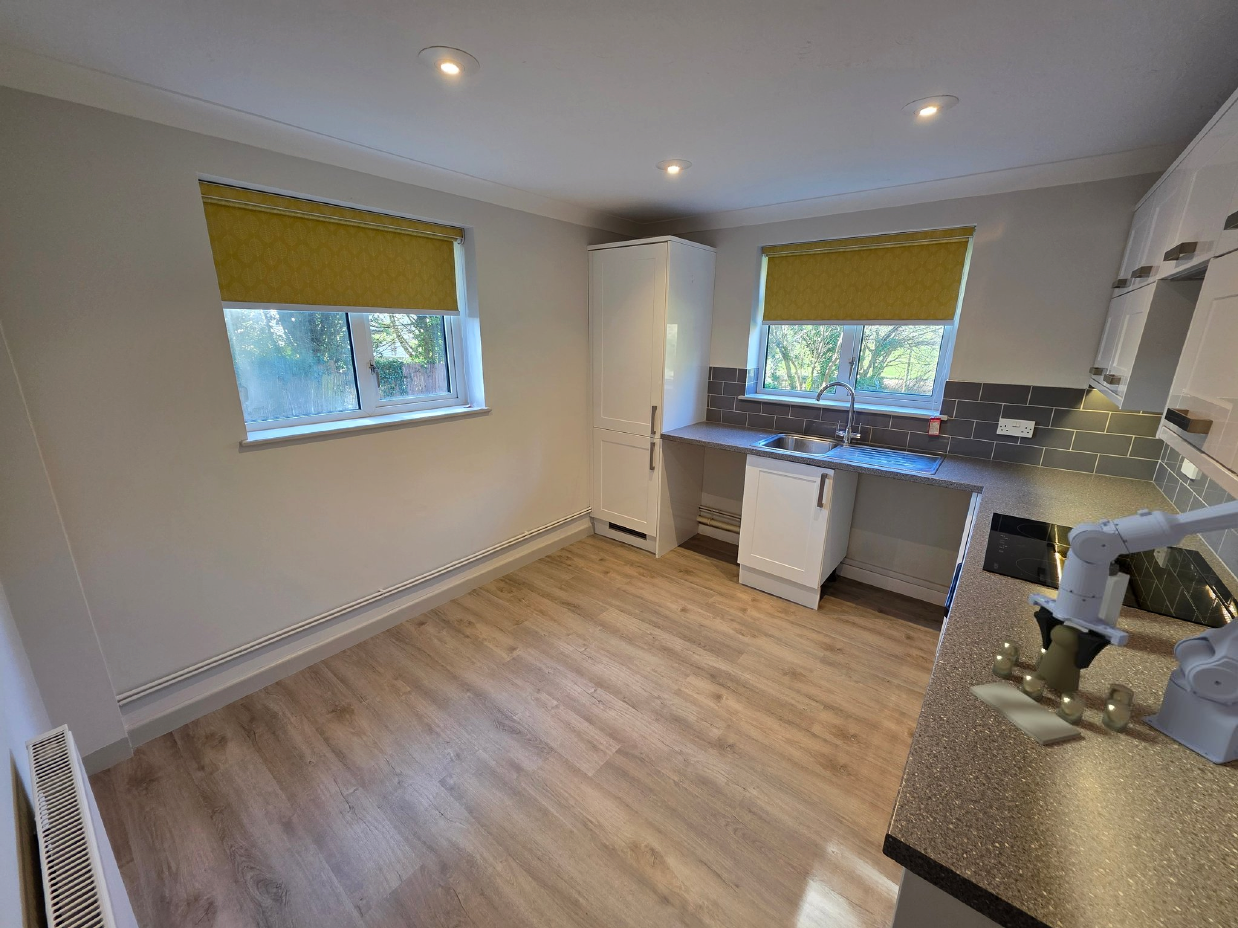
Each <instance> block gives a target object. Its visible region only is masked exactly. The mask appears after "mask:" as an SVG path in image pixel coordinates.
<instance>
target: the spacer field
mask: <svg viewBox="0 0 1238 928" xmlns="http://www.w3.org/2000/svg"><path fill="white" fill-rule="evenodd" d="M1038 647H1039V648H1038V652H1037V656H1036V660H1035V665H1036V666H1037V667H1038V668H1039V666H1040V664H1041V662H1042V660H1043V658H1044V656H1045V654H1046V652H1047V651H1046V650H1044V649H1043V643H1041V644H1039V646H1038ZM1022 648H1023V645H1022V643H1020V642H1018V641H1016V640H1013V639H1007V638H1006V639H1005V638H1004V639H1003V641H1002V644H1001V650H1000V651H996V652H995V655H994V659H993V663H992V667H991V673H992V674H993V675H994V676H995V677H997V678H999V679H1003V680H1010V679H1011V678H1012V676H1013V670H1014V667H1015V666H1018V665H1019V662H1020V658H1021V653H1022ZM1045 682H1046V679H1045V677H1043V676H1042V675H1040V674H1038V673H1036V672H1035V671H1031V670H1027V671H1024V674H1023V678H1022V682H1021V687H1020V690H1019V691H1020V692H1022V693H1023V694H1025V695H1026V696H1028V697H1029V698H1031V699H1032V700H1034V701H1035V702H1040V701H1042V698H1043V695H1044V691H1045V690H1044V689H1045V687H1046V684H1045ZM1109 685H1110V686H1109V688H1108V692H1107V695H1106V700H1105V703H1104V705H1105V707H1104V710H1103V714H1102V718H1101V721H1100V722H1101V724H1102V725H1103V727H1105V728H1107V729H1108V730H1110V731H1112V732H1114V733H1119V734H1124V733H1127V729H1128V726H1129V723H1130V720H1131V716H1132V713H1133V709H1132V708H1131V707H1132V704H1133V701H1134V697H1135V691H1134V690H1133V689H1131V687H1128V686H1126V685H1123V684H1120V683H1118V682H1117V683H1116V682H1113V683H1110V684H1109ZM1086 705H1087V701H1086V700H1085V699H1084V698H1082V697H1081V696H1079V695H1077V694H1075V693H1071V692H1062V694H1061V698H1060V702H1059V705H1058V709H1057V715H1056V716H1058V717H1059V718H1061V719H1062V720H1064V721H1065V722H1067V723H1068V724H1070V725H1071V726H1079V725H1081V724H1082V720H1083V716H1084V713H1085V708H1086Z"/></svg>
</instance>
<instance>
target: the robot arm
mask: <svg viewBox="0 0 1238 928" xmlns="http://www.w3.org/2000/svg"><path fill="white" fill-rule="evenodd" d="M1136 513H1137V514H1135V515H1130V516H1129V515H1128V516H1125V517H1121V518H1116V519H1110V520H1108V519H1107V518H1103V519H1099V523H1097V522H1096V523H1095V522H1091V521H1089V522H1082V523H1079V524H1076V525H1075V526H1074V528H1072V529H1071V530H1070V532H1068V533H1067V539H1068V543H1069V544H1070V547H1069V550H1068V551H1067V553H1066V559H1065V561H1064V563H1063V567H1062V573H1061V577H1060V582H1059V586H1058V591H1057V595H1056V598H1052V597H1049V596H1046V595H1044V594H1041V593H1039V592H1034V593H1029V597H1028V601H1027V603H1028V604H1030V605H1031V606H1037V607H1039V609H1038V610H1036V611H1034V612H1033V617H1034V618H1035V620H1036V622H1037V625H1038V627H1039V631H1040V635H1041V641H1042V643H1041V644H1043V649H1044V650H1046V651H1047V650H1048V648H1049V647H1050V645H1051V643H1052V639H1051V630H1052V628H1053V627H1055V626H1056V625H1063V624H1064V622H1065V621H1069V622H1072V623H1075V624H1077V625H1079V626H1081V627H1083V628H1085V629H1087V630H1088V632H1082V633H1078V634H1077V636H1078V643H1079V649H1078V655H1077V659H1076V667H1077V668H1078V669H1081V670H1084V669H1085V670H1086V669H1088V668H1089V667H1090V666H1091V664H1092V663H1093V661H1094V660H1095V659H1096V657H1097V656H1098V655H1099V654H1100V653H1101V652H1102V651H1103V650H1104V649H1105V648H1107V647H1108V646H1110V645H1111V644H1112V645H1114V646H1116V647H1121V646H1125V645H1127V644H1128V640H1129V636H1130V634H1129V633H1127V632H1125V631H1122V630H1121V629H1119V628H1117V626H1116V627H1114V626H1113V625H1111V624H1110V623H1108V622H1107V621H1105V620H1103V619H1102V618H1100V617H1099V612H1100V608H1101V604H1102V600H1103V596H1104V592H1105V588H1106V584H1107V580H1108V576H1109V566H1110V562H1111V561H1113V560H1114V559H1116V560H1117V558H1118V557H1119V555H1127V554H1134V553H1138V552H1145V551H1151V550H1156V549H1161V548H1168V547H1174V546H1178V545H1180V544H1181V542H1182V541H1183V540H1184V539H1185V538H1186V537H1187V536H1189V535H1197V534H1203V533H1211V532H1216V531H1217V532H1218V531H1224V530H1232V529H1238V499H1237V500H1236V499H1235V500H1234V501H1232V500H1231V501H1228V502H1224V503H1220V504H1216V505H1211V506H1207V507H1204V508H1202V507H1201V508H1198V509H1194V510H1191V511H1187V512H1181V513H1178V514H1172V513H1169V512H1165V511H1162V510H1154V511H1150V510H1149V509H1148V508H1145V509H1140V510H1137V511H1136ZM1173 654H1174V657H1175V659H1176V661H1177V662H1178V663H1179V665H1178V667H1176V668H1175V669H1173V670H1172V671H1171V672H1170V675H1169V678H1168V680H1167V683H1166V684H1167V685H1166V688H1165V690H1164V694H1163V697H1162V700H1161V704H1160V706H1159V711H1158V712H1157V713H1156V714H1151V715H1147V716H1142V717H1141V720H1142V721H1143V722H1145V723H1146V724H1148V725H1149V726H1151V727H1153V728H1154V729H1156V730H1158V731H1159V732H1162V733H1163V734H1164V735H1167V736H1168V737H1169V738H1171V739H1173V740H1175V741H1177V742H1178V743H1180V744H1182V745H1183V746H1185V747H1187V748H1188V749H1190V750H1192V751H1194V752H1195V753H1197V754H1199V755H1201V756H1202V757H1203V758H1206V759H1207V760H1209V761H1210V762H1213V763H1214V764H1224V763H1227V762H1231V761H1232V762H1233V761H1235V760H1238V615H1237V616H1235V618H1233V619H1231V620H1230V621H1229V622H1228V623H1226V624H1224V626H1222V627H1218V628H1216V627H1215V628H1208V629H1206V630H1205V631H1204V632H1201V633H1200V634H1198V635H1195V636H1191V637H1190V636H1189V637H1186V638H1184V639H1181V640H1180V641H1178V642H1177V643H1176V644H1175V645H1174V648H1173Z"/></svg>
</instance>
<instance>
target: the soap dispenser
mask: <svg viewBox="0 0 1238 928" xmlns="http://www.w3.org/2000/svg"><path fill="white" fill-rule="evenodd" d="M1116 560H1117V558H1116V559H1114V560H1113V561H1111V562H1110V566H1109V576H1108V580H1107V584H1106V588H1105V592H1104V596H1103V600H1102V604H1101V608H1100V612H1099V617H1100V618H1102V619H1103V620H1105V621H1107V622H1108V623H1110V624H1111V625H1113V626H1114V627H1116V628H1117V624H1118V622H1119V617H1120V613H1121V610H1122V606H1123V603H1124V599H1125V594H1126V592H1127V587H1128V584H1129V581H1130V577H1131V575H1130V574H1128V573H1127V574H1126V573H1123V572H1120V564H1118V563H1116V562H1115V561H1116ZM1113 562H1114V563H1113ZM1063 625H1069V626H1073V627H1075V628H1078V629H1080V630H1082V631H1083V632H1088V630H1087V629H1085V628H1083V627H1081V626H1079V625H1077V624H1075V623H1072V622H1069V621H1065V622H1064V624H1063Z"/></svg>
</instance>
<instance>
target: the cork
mask: <svg viewBox="0 0 1238 928" xmlns="http://www.w3.org/2000/svg"><path fill="white" fill-rule="evenodd" d="M1082 632H1083V631H1082V630H1080V629H1078V628H1075V627H1073V626H1069V625H1056V626H1055V627H1053V628H1052V630H1051V639H1052V643H1051V645H1050V647H1049V648H1048V650H1047V652H1046V654H1045V656H1044V658H1043V660H1042V662H1041V664H1040V666H1039V667H1038V668H1037V669H1036V673H1038V674H1040V675H1042V676H1043V677H1045V679H1046V682H1045V686H1048V687H1051V688H1052V689H1054V690H1057V691H1060V692H1063V693H1072V694H1074V693H1077V692H1078V691H1079V687H1080V680H1081V679H1080V678H1081V677H1080V676H1081V670H1082V669H1078V668H1077V667H1076V659H1077V655H1078V649H1079V643H1078V636H1077V634H1078V633H1082Z"/></svg>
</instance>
